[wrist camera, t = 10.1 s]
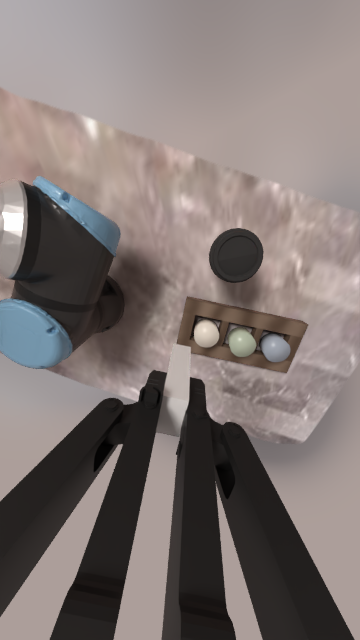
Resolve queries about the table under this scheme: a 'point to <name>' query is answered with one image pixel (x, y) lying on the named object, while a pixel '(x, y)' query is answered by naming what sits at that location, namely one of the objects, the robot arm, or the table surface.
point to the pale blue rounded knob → (274, 347)
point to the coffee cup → (236, 255)
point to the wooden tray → (244, 317)
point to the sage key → (241, 342)
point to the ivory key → (206, 333)
